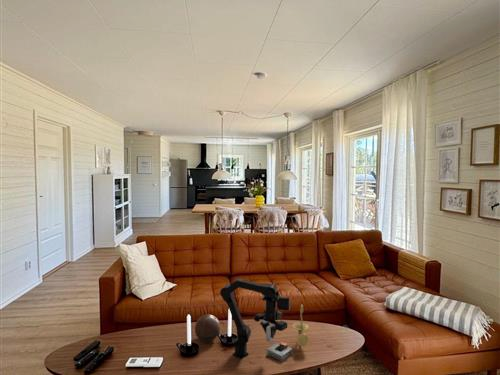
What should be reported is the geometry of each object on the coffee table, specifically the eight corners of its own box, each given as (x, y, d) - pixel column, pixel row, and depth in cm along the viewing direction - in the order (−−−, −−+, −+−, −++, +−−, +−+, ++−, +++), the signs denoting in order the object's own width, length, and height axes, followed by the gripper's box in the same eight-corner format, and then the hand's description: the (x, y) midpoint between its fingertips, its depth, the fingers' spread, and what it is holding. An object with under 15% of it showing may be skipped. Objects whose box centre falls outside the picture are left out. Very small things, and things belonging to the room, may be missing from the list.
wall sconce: (310, 352, 175) (311, 308, 175) (293, 351, 176) (295, 308, 175) (306, 339, 189) (307, 299, 189) (291, 339, 189) (292, 299, 189)
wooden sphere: (222, 344, 182) (223, 319, 181) (197, 348, 176) (198, 322, 176) (215, 332, 195) (216, 309, 195) (192, 336, 190) (192, 312, 190)
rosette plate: (282, 361, 166) (282, 353, 166) (267, 354, 172) (267, 346, 172) (292, 353, 173) (292, 346, 173) (277, 347, 180) (277, 339, 180)
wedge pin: (270, 342, 165) (270, 328, 165) (266, 340, 167) (266, 326, 167) (273, 340, 168) (274, 326, 167) (269, 338, 169) (269, 324, 169)
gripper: (293, 308, 167) (292, 337, 167) (266, 299, 179) (265, 326, 180) (281, 315, 159) (280, 345, 159) (253, 305, 171) (253, 333, 171)
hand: (270, 337), depth 167 cm, fingers closed on wedge pin, 3 cm apart
